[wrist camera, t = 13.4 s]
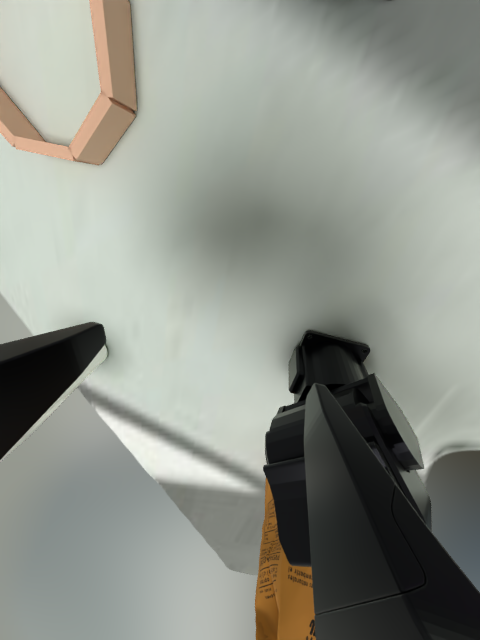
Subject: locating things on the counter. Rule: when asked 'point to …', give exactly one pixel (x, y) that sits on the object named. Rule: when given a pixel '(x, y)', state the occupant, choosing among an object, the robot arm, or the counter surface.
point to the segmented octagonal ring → (111, 104)
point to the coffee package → (281, 588)
